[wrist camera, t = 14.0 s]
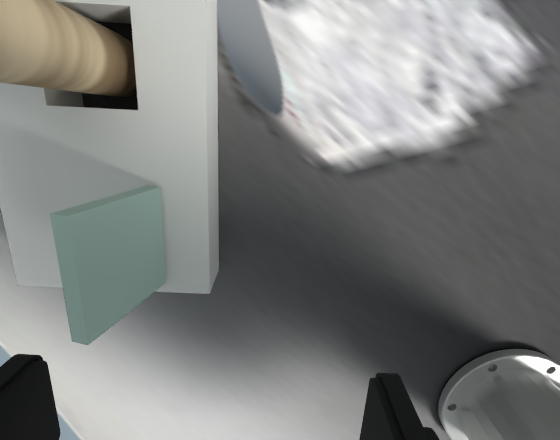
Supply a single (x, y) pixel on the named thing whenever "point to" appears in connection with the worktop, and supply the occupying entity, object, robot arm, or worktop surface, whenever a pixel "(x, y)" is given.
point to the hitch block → (122, 145)
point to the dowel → (63, 50)
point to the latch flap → (109, 258)
